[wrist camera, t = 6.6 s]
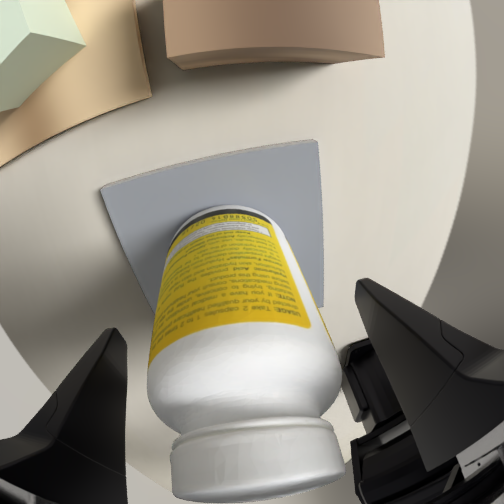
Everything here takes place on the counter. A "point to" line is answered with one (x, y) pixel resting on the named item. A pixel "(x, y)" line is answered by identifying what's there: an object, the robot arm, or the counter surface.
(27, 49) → the sage cube
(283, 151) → the slate coaster
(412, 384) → the robot arm
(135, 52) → the cork coaster
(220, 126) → the counter surface
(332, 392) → the supplement bottle
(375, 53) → the walnut block
